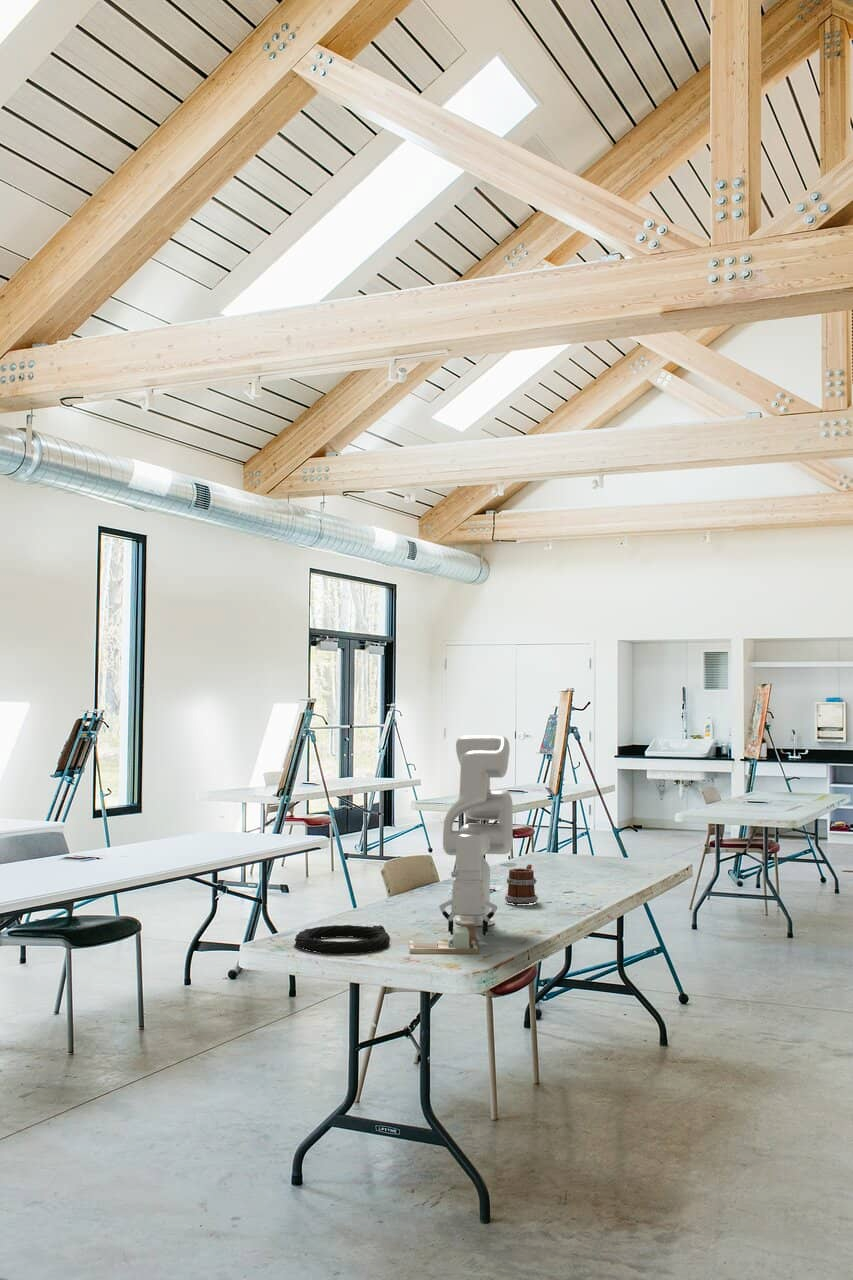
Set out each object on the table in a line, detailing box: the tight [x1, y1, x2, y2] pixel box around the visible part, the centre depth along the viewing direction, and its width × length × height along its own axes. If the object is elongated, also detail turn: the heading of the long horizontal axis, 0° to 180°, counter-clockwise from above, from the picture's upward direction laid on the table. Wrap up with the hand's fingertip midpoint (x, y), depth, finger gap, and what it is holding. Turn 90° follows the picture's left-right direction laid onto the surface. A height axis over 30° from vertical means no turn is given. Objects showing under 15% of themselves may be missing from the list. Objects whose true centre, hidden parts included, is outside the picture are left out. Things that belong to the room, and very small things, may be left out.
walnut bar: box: [460, 921, 477, 944], centre depth 328 cm, size 9×4×5 cm, turn 2°
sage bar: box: [452, 926, 470, 948], centre depth 316 cm, size 9×4×5 cm, turn 3°
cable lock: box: [294, 924, 391, 955], centre depth 320 cm, size 28×4×30 cm
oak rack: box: [408, 938, 479, 954], centre depth 315 cm, size 13×19×1 cm
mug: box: [504, 864, 539, 904], centre depth 396 cm, size 12×14×15 cm
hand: (467, 934), depth 328 cm, fingers open, 9 cm apart
